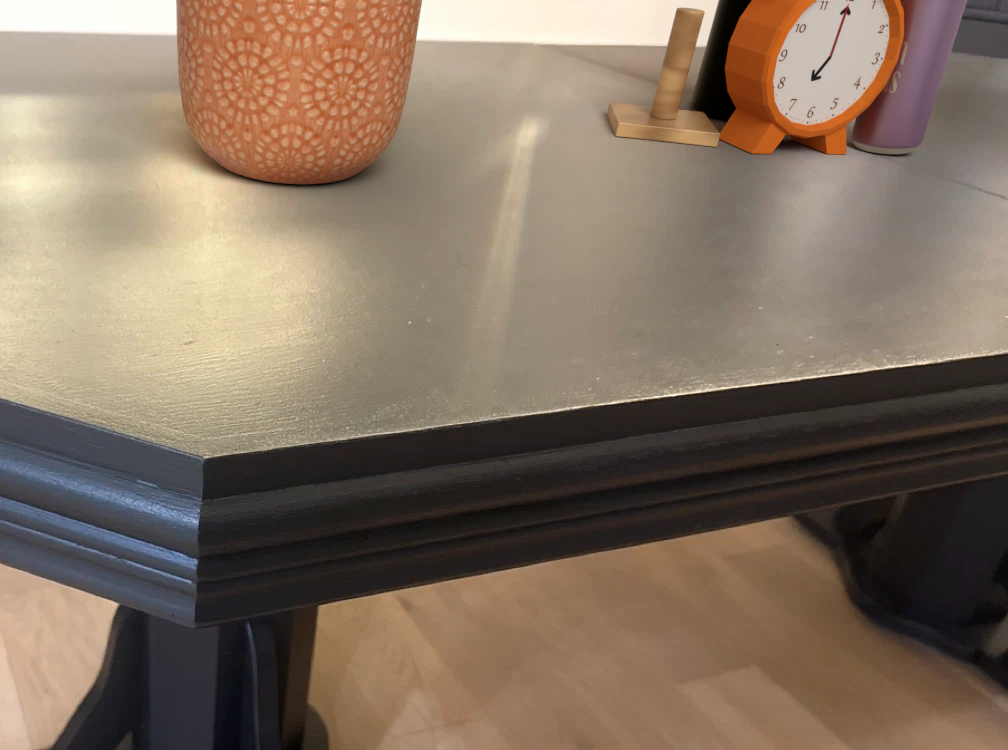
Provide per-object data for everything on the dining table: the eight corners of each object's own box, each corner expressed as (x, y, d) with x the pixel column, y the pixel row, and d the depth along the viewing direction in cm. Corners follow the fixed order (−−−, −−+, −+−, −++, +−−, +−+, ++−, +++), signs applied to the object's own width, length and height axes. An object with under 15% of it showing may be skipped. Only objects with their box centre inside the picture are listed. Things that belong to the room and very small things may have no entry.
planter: (226, 209, 68) (235, -55, 59) (143, 142, 80) (140, -84, 71) (443, 193, 74) (479, -47, 66) (335, 133, 87) (354, -75, 78)
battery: (683, 114, 103) (747, -122, 92) (694, 102, 108) (756, -122, 97) (757, 126, 101) (832, -115, 89) (765, 114, 106) (837, -115, 95)
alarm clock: (739, 155, 90) (822, -114, 79) (700, 137, 95) (773, -119, 84) (865, 156, 93) (962, -103, 82) (821, 138, 98) (907, -108, 87)
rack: (700, 124, 100) (733, 7, 94) (716, 147, 92) (753, 21, 86) (606, 115, 100) (633, -2, 95) (615, 136, 93) (645, 11, 87)
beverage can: (934, 149, 95) (994, -37, 86) (890, 159, 92) (947, -30, 84) (877, 135, 99) (929, -43, 90) (834, 144, 97) (883, -37, 88)
